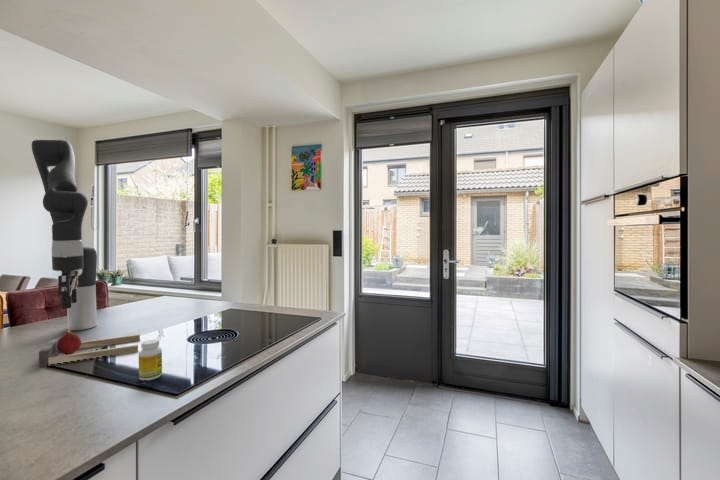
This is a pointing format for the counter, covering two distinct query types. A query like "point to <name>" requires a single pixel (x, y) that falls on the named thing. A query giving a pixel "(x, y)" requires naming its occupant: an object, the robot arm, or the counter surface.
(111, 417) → the counter surface
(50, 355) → the guide rails
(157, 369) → the supplement bottle
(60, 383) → the counter surface
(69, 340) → the onion
